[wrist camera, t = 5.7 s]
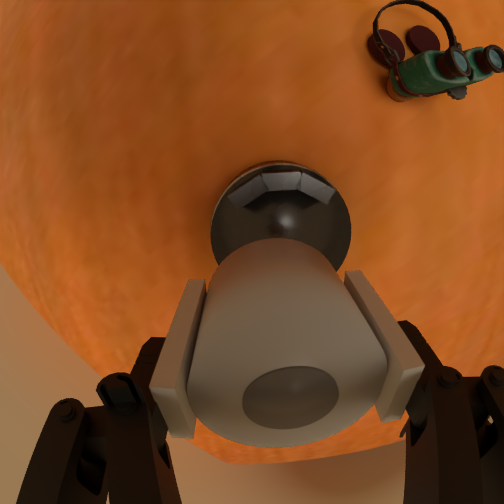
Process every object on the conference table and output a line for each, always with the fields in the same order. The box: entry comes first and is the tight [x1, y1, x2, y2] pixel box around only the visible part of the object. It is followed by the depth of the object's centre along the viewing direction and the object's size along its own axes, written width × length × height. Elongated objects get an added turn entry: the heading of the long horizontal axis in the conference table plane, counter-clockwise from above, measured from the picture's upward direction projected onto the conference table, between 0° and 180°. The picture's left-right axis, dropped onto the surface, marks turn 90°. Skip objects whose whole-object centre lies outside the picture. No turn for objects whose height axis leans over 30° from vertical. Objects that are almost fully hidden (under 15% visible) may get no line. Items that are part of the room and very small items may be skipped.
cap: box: [187, 238, 388, 448], centre depth 11 cm, size 6×6×6 cm
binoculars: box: [368, 0, 504, 102], centre depth 15 cm, size 9×11×10 cm
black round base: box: [211, 161, 351, 272], centre depth 24 cm, size 11×11×6 cm
